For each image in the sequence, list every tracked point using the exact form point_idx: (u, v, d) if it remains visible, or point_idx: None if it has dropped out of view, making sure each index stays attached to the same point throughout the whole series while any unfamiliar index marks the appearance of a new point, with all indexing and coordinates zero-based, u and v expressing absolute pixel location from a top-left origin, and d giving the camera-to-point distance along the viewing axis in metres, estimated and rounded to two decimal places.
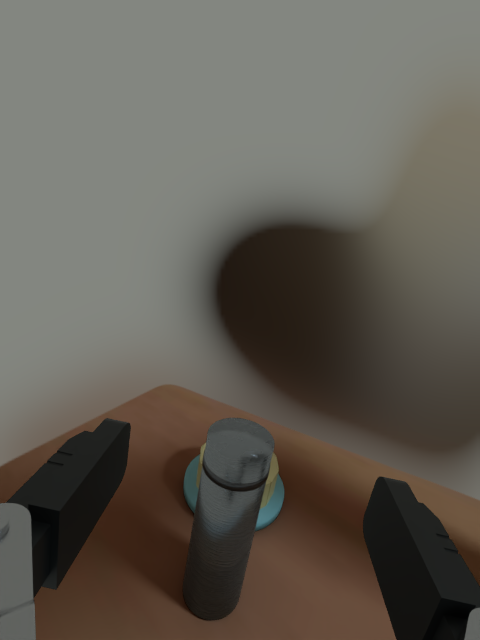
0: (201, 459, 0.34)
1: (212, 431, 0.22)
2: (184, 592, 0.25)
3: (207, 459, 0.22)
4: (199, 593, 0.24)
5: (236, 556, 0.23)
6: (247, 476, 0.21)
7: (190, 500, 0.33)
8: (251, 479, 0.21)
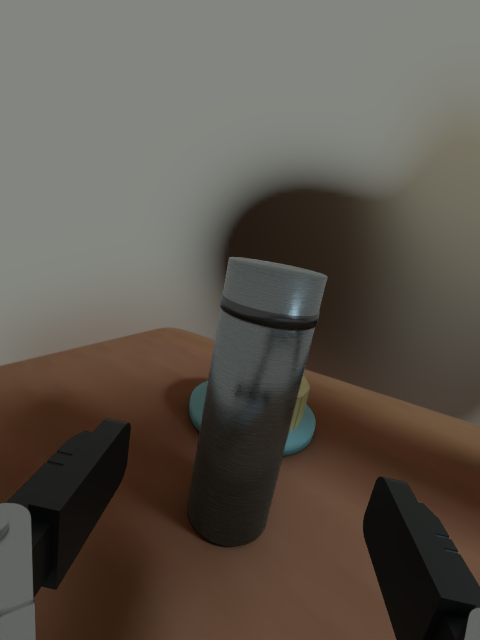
0: None
1: (236, 258, 0.15)
2: (189, 510, 0.18)
3: (228, 289, 0.15)
4: (212, 504, 0.16)
5: (267, 444, 0.15)
6: (291, 303, 0.14)
7: (197, 418, 0.26)
8: (296, 309, 0.14)
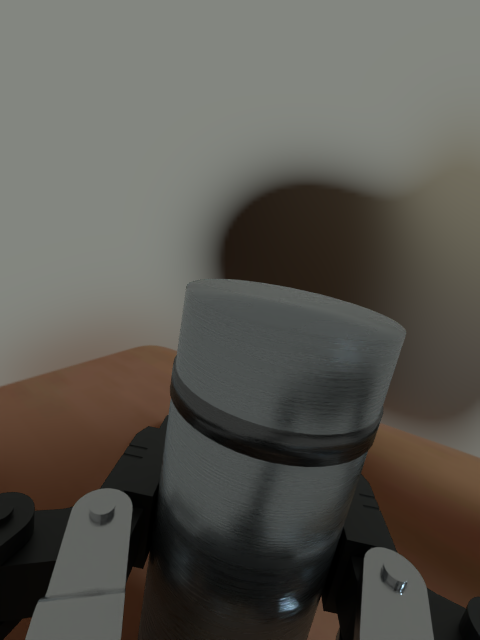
0: None
1: (203, 285, 0.07)
2: None
3: (183, 358, 0.06)
4: None
5: None
6: (331, 406, 0.05)
7: None
8: (343, 420, 0.06)
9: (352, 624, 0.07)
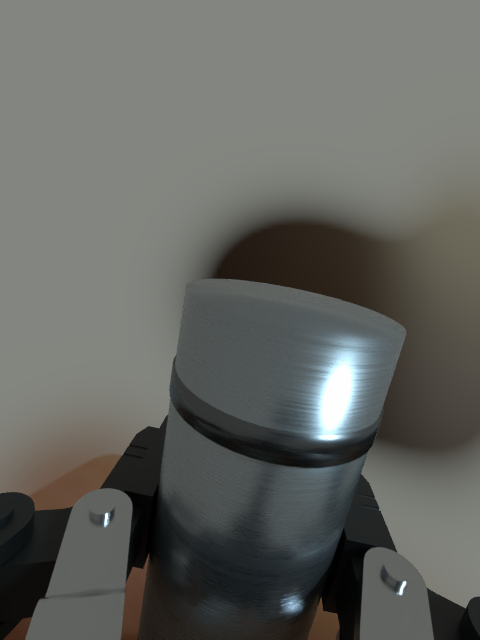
0: None
1: (202, 285, 0.07)
2: None
3: (182, 358, 0.06)
4: None
5: None
6: (331, 407, 0.05)
7: None
8: (344, 421, 0.05)
9: (352, 624, 0.07)
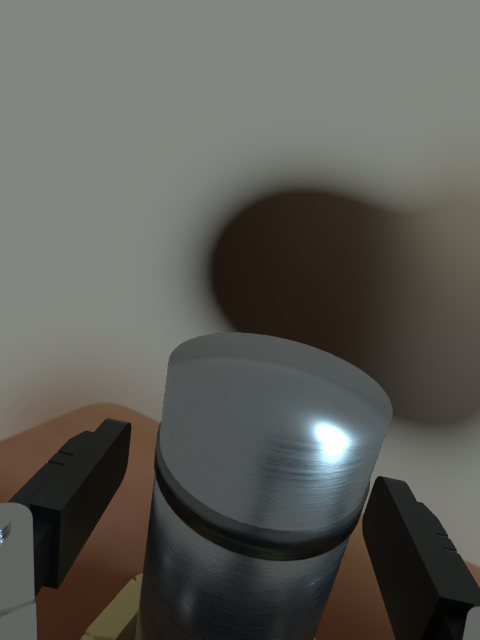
0: None
1: (187, 353, 0.07)
2: None
3: (165, 438, 0.06)
4: None
5: None
6: (312, 504, 0.05)
7: None
8: (325, 514, 0.05)
9: None
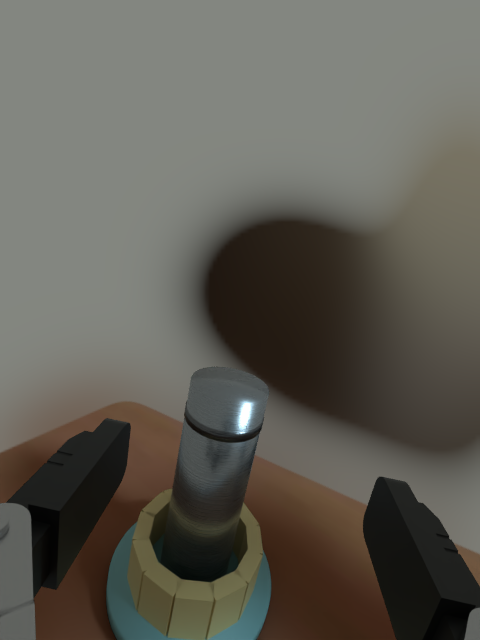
0: (135, 536, 0.21)
1: (197, 376, 0.19)
2: None
3: (189, 405, 0.18)
4: (177, 571, 0.20)
5: (221, 525, 0.19)
6: (236, 423, 0.17)
7: (110, 610, 0.19)
8: (240, 427, 0.18)
9: None
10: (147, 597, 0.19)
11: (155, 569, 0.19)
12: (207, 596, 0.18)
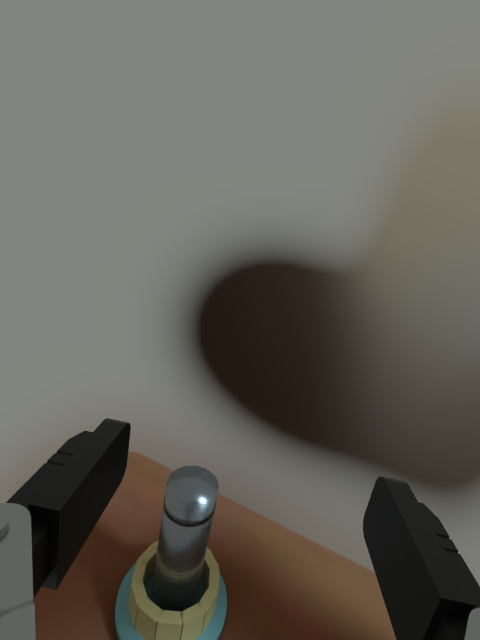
0: (133, 579, 0.31)
1: (171, 478, 0.30)
2: None
3: (166, 501, 0.29)
4: (161, 603, 0.30)
5: (188, 575, 0.30)
6: (194, 515, 0.28)
7: (117, 629, 0.30)
8: (197, 517, 0.28)
9: None
10: (140, 621, 0.29)
11: (145, 603, 0.30)
12: (178, 621, 0.29)
